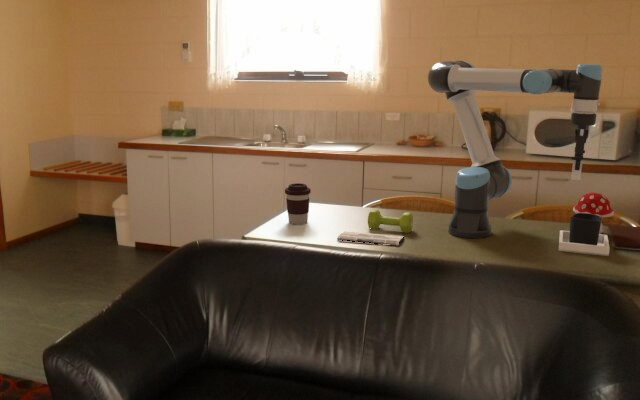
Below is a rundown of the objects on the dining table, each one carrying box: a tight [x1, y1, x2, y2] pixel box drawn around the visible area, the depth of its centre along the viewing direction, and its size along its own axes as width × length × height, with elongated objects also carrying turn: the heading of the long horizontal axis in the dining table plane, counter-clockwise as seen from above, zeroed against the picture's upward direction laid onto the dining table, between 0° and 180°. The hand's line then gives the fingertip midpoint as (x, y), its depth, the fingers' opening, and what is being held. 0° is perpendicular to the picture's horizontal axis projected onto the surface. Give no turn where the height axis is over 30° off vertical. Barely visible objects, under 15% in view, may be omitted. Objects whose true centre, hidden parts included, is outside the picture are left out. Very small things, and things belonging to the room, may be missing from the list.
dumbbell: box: [367, 208, 414, 234], centre depth 218 cm, size 16×8×7 cm, turn 67°
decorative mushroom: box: [572, 192, 615, 234], centre depth 212 cm, size 14×14×15 cm
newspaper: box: [337, 230, 405, 246], centre depth 207 cm, size 23×12×2 cm, turn 71°
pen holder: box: [569, 213, 602, 245], centre depth 197 cm, size 9×9×10 cm
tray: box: [558, 229, 611, 257], centre depth 198 cm, size 15×15×3 cm
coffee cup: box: [284, 182, 312, 225], centre depth 227 cm, size 10×10×15 cm
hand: (575, 175), depth 197 cm, fingers open, 13 cm apart
